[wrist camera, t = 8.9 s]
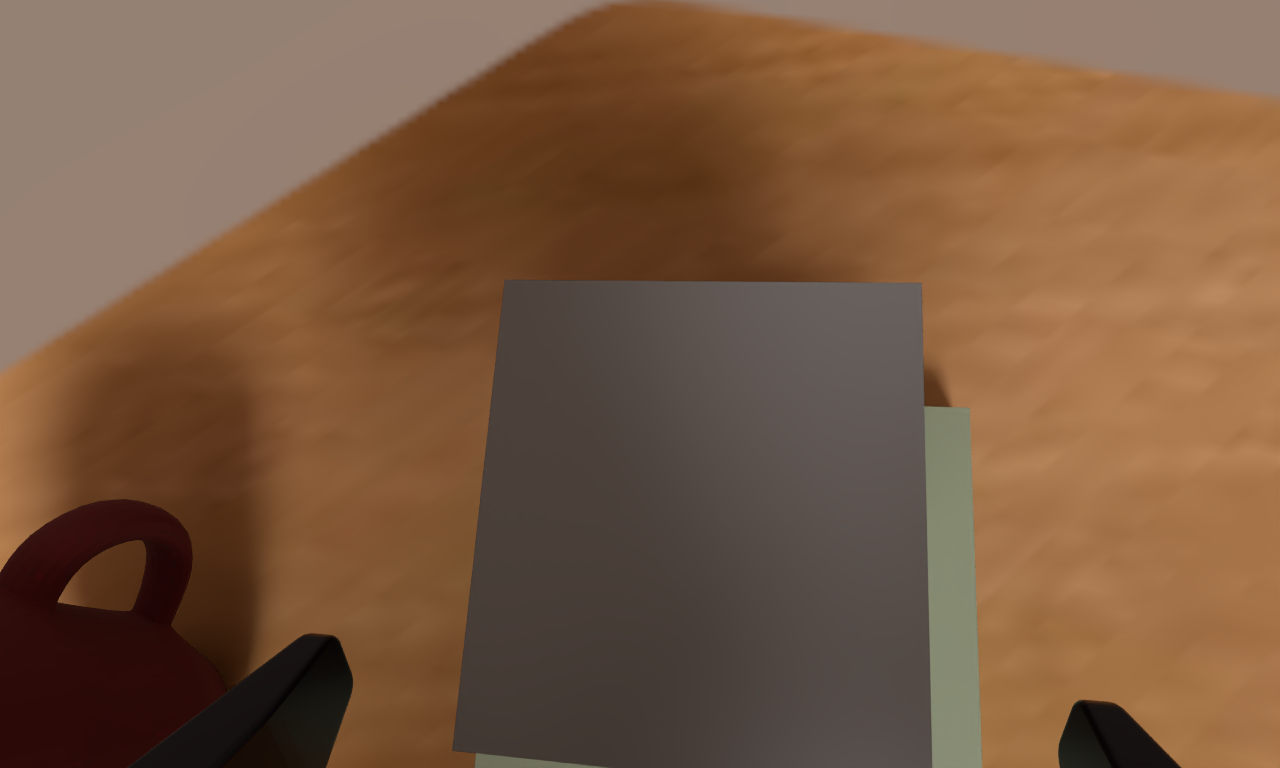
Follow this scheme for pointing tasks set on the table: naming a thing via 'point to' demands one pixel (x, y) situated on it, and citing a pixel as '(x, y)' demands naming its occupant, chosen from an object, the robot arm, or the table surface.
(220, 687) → the mug
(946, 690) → the socket base
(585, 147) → the table surface
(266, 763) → the robot arm
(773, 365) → the gray block
